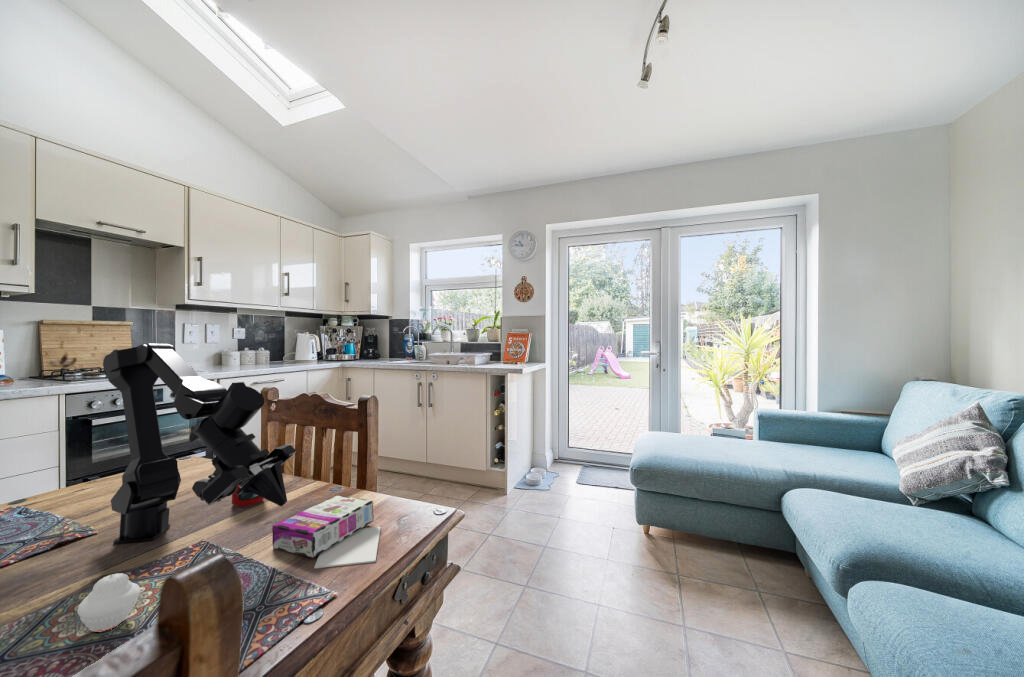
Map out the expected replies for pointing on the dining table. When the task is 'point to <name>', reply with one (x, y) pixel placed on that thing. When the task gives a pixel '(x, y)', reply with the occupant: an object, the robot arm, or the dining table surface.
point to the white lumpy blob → (108, 602)
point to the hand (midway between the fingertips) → (284, 504)
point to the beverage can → (245, 499)
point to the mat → (352, 549)
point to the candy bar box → (322, 525)
